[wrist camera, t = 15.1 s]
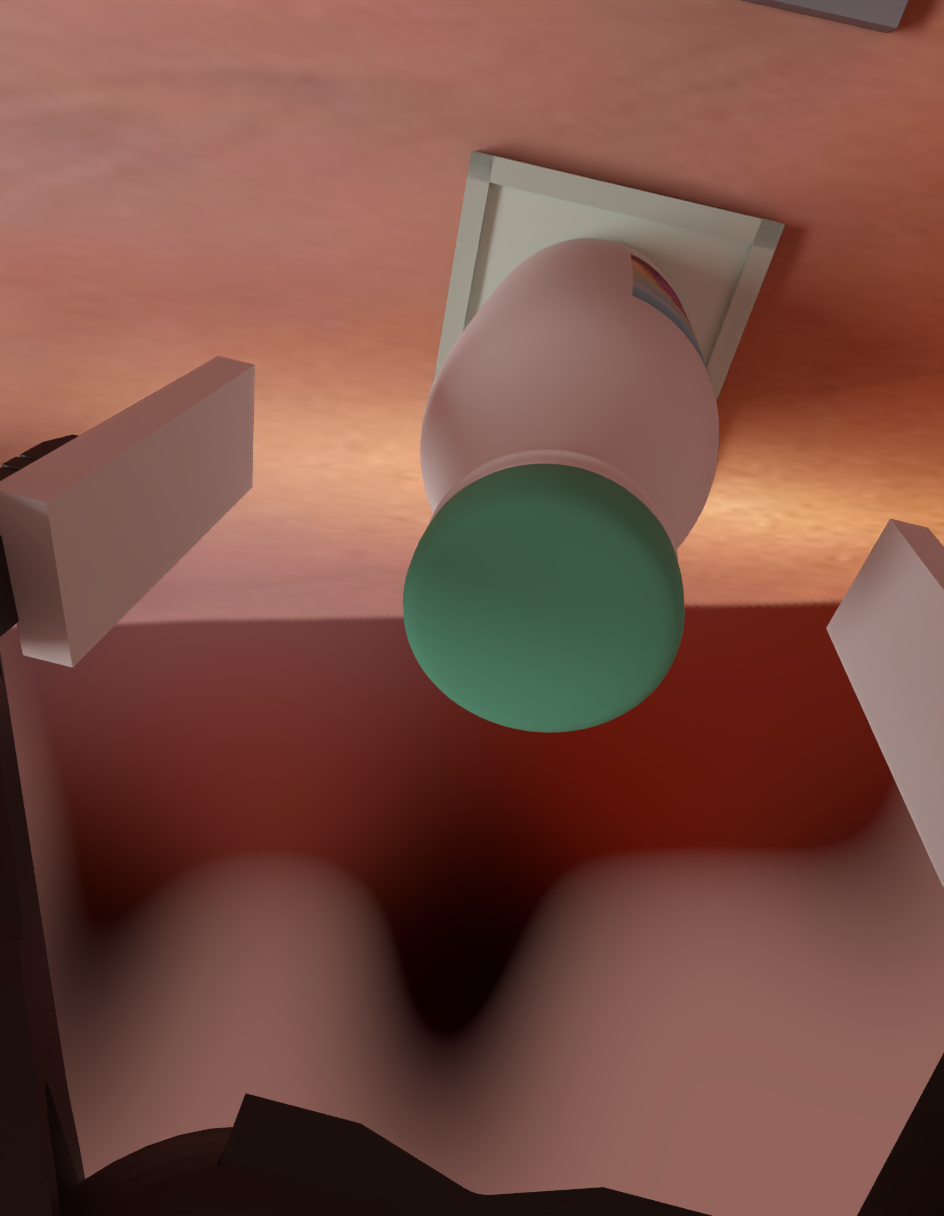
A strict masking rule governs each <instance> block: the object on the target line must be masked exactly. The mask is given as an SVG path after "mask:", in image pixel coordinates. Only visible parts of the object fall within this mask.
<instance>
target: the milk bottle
mask: <svg viewBox="0 0 944 1216" xmlns="http://www.w3.org/2000/svg"><path fill="white" fill-rule="evenodd" d="M718 449H719V417H718V409H717V403H716V399H715V395H714V390H713V386H712V383H711V379H710V375H709V371H708V368H707V365H706V362H705V360H704V357H703V354H702V352H701V349H700V347H699V344H698V341H697V339H696V336H695V334H694V331H693V329H692V327H691V325H690V322H689V320H688V318H687V315H686V313H685V311H684V309H683V306H682V304H681V302H680V300H679V298H678V296H677V294H676V292H675V290H674V289H673V287H672V285H671V284H670V282H669V281H668V279H667V278H666V277H665V276H664V274H663V273H662V272H661V271H660V269H659V268H658V267H657V266H656V265H655V264H654V263H653V262H651V261H650V260H649V259H648V258H646V257H645V256H644V255H642V254H641V253H639V252H638V251H636V250H634V249H632V248H630V247H628V246H626V245H623V244H620V243H618V242H614V241H610V240H605V239H598V238H580V239H572V240H567V241H563V242H559V243H556V244H553V245H551V246H548V247H546V248H544V249H542V250H540V251H538V252H536V253H535V254H533V255H532V256H530V257H529V258H527V259H526V260H525V261H523V262H522V263H521V264H520V265H519V266H517V267H516V268H515V269H514V270H513V271H512V272H511V273H510V274H509V275H508V276H507V277H506V278H505V279H504V280H503V282H502V283H501V284H500V285H499V286H498V288H497V289H496V290H495V291H494V293H493V294H492V295H491V296H490V297H489V299H488V300H487V301H486V302H485V304H484V305H483V306H482V307H481V309H480V310H479V311H478V312H477V314H476V315H475V316H474V318H473V319H472V320H471V321H470V323H469V324H468V325H467V327H466V328H465V329H464V331H463V332H462V333H461V335H460V336H459V338H458V339H457V341H456V342H455V344H454V345H453V347H452V349H451V350H450V352H449V354H448V355H447V357H446V359H445V361H444V362H443V364H442V366H441V368H440V370H439V372H438V374H437V376H436V378H435V380H434V383H433V386H432V388H431V391H430V395H429V398H428V402H427V405H426V409H425V413H424V417H423V423H422V430H421V450H420V451H421V469H422V477H423V481H424V486H425V490H426V494H427V498H428V501H429V504H430V507H431V510H432V512H433V516H432V518H431V521H430V523H429V526H428V527H427V529H426V531H425V533H424V534H423V536H422V538H421V539H420V541H419V543H418V546H417V548H416V550H415V553H414V555H413V558H412V561H411V563H410V566H409V569H408V572H407V576H406V580H405V585H404V594H403V610H404V622H405V629H406V633H407V637H408V640H409V643H410V646H411V648H412V651H413V653H414V655H415V657H416V659H417V661H418V662H419V664H420V666H421V667H422V669H423V670H424V672H425V673H426V674H427V676H428V677H429V678H430V679H431V680H432V682H433V683H434V684H435V685H436V686H437V687H438V688H439V689H440V690H441V691H442V692H443V693H444V694H446V695H447V696H448V697H449V698H451V699H452V700H453V701H454V702H456V703H457V704H459V705H460V706H462V707H463V708H465V709H466V710H468V711H470V712H472V713H474V714H476V715H477V716H480V717H482V718H484V719H486V720H489V721H492V722H494V723H497V724H500V725H503V726H508V727H511V728H515V729H520V730H527V731H535V732H565V731H574V730H579V729H585V728H589V727H592V726H596V725H599V724H602V723H605V722H608V721H610V720H612V719H614V718H616V717H619V716H621V715H623V714H624V713H626V712H628V711H630V710H631V709H633V708H634V707H635V706H637V705H638V704H640V703H641V702H642V701H643V700H644V699H646V698H647V697H648V696H649V695H650V694H651V693H652V692H653V691H654V690H655V689H656V687H657V686H658V685H659V684H660V683H661V681H662V679H664V677H665V675H666V674H667V672H668V670H669V669H670V667H671V665H672V663H673V660H674V658H675V656H676V653H677V650H678V647H679V644H680V641H681V638H682V633H683V628H684V616H685V614H684V594H683V583H682V577H681V573H680V568H679V564H678V557H677V548H678V547H679V546H680V545H681V544H682V542H683V541H684V540H685V538H686V537H687V535H688V534H689V532H690V531H691V529H692V528H693V526H694V524H695V523H696V521H697V519H698V517H699V516H700V514H701V512H702V510H703V508H704V505H705V503H706V500H707V498H708V495H709V492H710V489H711V485H712V482H713V479H714V476H715V471H716V466H717V460H718Z"/></svg>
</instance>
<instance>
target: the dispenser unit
mask: <svg viewBox="0 0 944 1216" xmlns="http://www.w3.org/2000/svg"><path fill="white" fill-rule="evenodd" d="M743 1H748V2H752V3H757V4H761V5H766V6H770V7H774V8H779V9H783V10H788V11H792V12H796V13H801V14H805V15H810V16H814V17H819V18H823V19H827V20H832V21H836V22H841V23H845V24H849V25H854V26H858V27H863V28H867V29H872V30H876V31H880V32H885V33H887V32H890V31H892V30H894V29H897V27H898V25H899V22H900V20H901V17H902V15H903V12H904V10H905V8H906V5H907V3H908V0H743Z"/></svg>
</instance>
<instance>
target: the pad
mask: <svg viewBox="0 0 944 1216" xmlns="http://www.w3.org/2000/svg"><path fill="white" fill-rule="evenodd" d="M784 226H785V224H783V223H780V222H777V221H773V220H768V219H764V218H760V217H756V216H751V215H747V214H743V213H739V212H734V211H730V210H726V209H722V208H717V207H713V206H709V205H705V204H700V203H696V202H692V201H688V200H683V199H679V198H675V197H671V196H666V195H662V194H658V193H654V192H649V191H645V190H641V189H637V188H632V187H628V186H624V185H620V184H615V183H611V182H607V181H603V180H598V179H594V178H590V177H586V176H581V175H577V174H573V173H569V172H564V171H560V170H556V169H552V168H547V167H543V166H539V165H535V164H530V163H526V162H522V161H518V160H513V159H509V158H505V157H501V156H496V155H492V154H488V153H484V152H479V151H471V157H470V163H469V170H468V176H467V182H466V188H465V194H464V200H463V206H462V212H461V218H460V225H459V231H458V237H457V243H456V249H455V255H454V261H453V267H452V273H451V280H450V286H449V292H448V298H447V304H446V310H445V316H444V322H443V328H442V335H441V341H440V347H439V353H438V359H437V365H436V371H435V377H434V380H435V378H436V376H437V374H438V372H439V370H440V368H441V366H442V364H443V362H444V361H445V359H446V357H447V355H448V354H449V352H450V350H451V349H452V347H453V345H454V344H455V342H456V341H457V339H458V338H459V336H460V335H461V333H462V332H463V331H464V329H465V328H466V327H467V325H468V324H469V323H470V321H471V320H472V319H473V318H474V316H475V315H476V314H477V312H478V311H479V310H480V309H481V307H482V306H483V305H484V304H485V302H486V301H487V300H488V299H489V297H490V296H491V295H492V294H493V293H494V291H495V290H496V289H497V288H498V286H499V285H500V284H501V283H502V282H503V280H504V279H505V278H506V277H507V276H508V275H509V274H510V273H511V272H512V271H513V270H514V269H515V268H516V267H517V266H519V265H520V264H521V263H522V262H523V261H525V260H526V259H527V258H529V257H530V256H532V255H533V254H535V253H536V252H538V251H540V250H542V249H544V248H546V247H548V246H551V245H553V244H556V243H559V242H563V241H567V240H572V239H580V238H598V239H605V240H610V241H614V242H618V243H620V244H623V245H626V246H628V247H630V248H632V249H634V250H636V251H638V252H639V253H641V254H642V255H644V256H645V257H646V258H648V259H649V260H650V261H651V262H653V263H654V264H655V265H656V266H657V267H658V268H659V269H660V271H661V272H662V273H663V274H664V276H665V277H666V278H667V279H668V281H669V282H670V284H671V285H672V287H673V289H674V290H675V292H676V294H677V296H678V298H679V300H680V302H681V304H682V306H683V309H684V311H685V313H686V315H687V318H688V320H689V322H690V325H691V327H692V329H693V331H694V334H695V336H696V339H697V341H698V344H699V347H700V349H701V352H702V354H703V357H704V360H705V362H706V365H707V368H708V371H709V375H710V379H711V383H712V386H713V390H714V395H715V399H716V401H717V399H718V396H719V394H720V391H721V389H722V386H723V383H724V381H725V378H726V376H727V373H728V371H729V368H730V365H731V363H732V360H733V358H734V355H735V352H736V350H737V347H738V345H739V342H740V340H741V337H742V334H743V332H744V329H745V327H746V324H747V321H748V319H749V316H750V314H751V311H752V309H753V306H754V303H755V301H756V298H757V296H758V293H759V290H760V288H761V285H762V283H763V280H764V278H765V275H766V272H767V270H768V267H769V265H770V262H771V259H772V257H773V254H774V252H775V249H776V247H777V244H778V241H779V239H780V236H781V234H782V231H783V229H784Z"/></svg>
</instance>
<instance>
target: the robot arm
mask: <svg viewBox="0 0 944 1216" xmlns="http://www.w3.org/2000/svg"><path fill="white" fill-rule="evenodd" d="M254 375H255V365H253V364H249V363H245V362H241V361H237V360H233V359H229V358H224V357H220V356H217V357H216V358H214V359H212V360H210V361H209V362H207V363H205V364H204V365H202V366H200V367H198V368H197V369H195V370H193V371H191V372H190V373H188V374H186V375H184V376H183V377H181V378H179V379H177V380H176V381H174V382H172V383H170V384H169V385H167V386H165V387H163V388H162V389H160V390H158V391H157V392H155V393H153V394H151V395H150V396H148V397H146V398H144V399H143V400H141V401H139V402H137V403H136V404H134V405H132V406H130V407H129V408H127V409H125V410H123V411H122V412H120V413H118V414H117V415H115V416H113V417H111V418H110V419H108V420H106V421H104V422H103V423H101V424H99V425H97V426H96V427H94V428H92V429H90V430H89V431H87V432H85V433H83V434H82V435H80V436H77V435H69V436H65V437H61V438H57V439H53V440H49V441H46V442H42V443H40V444H38V445H37V446H35V447H33V448H31V449H29V450H27V451H26V452H24V453H22V454H20V458H19V457H15V458H13V459H11V460H9V461H7V462H6V463H4V464H2V468H0V636H2V635H3V634H4V633H5V632H6V631H8V630H9V629H10V628H11V627H12V626H14V625H15V624H16V623H17V628H18V633H19V638H20V642H21V647H22V652H23V655H25V656H30V657H33V658H37V659H41V660H45V661H49V662H53V663H57V664H61V665H65V666H69V667H73V666H75V664H76V663H77V662H78V661H79V660H80V659H81V658H82V657H83V656H84V655H85V654H86V653H87V652H88V651H89V650H90V649H91V648H92V647H93V646H94V645H95V644H96V643H97V642H98V641H99V640H100V639H101V638H102V637H103V636H104V635H105V634H106V633H107V632H108V631H109V630H110V629H111V628H112V627H113V626H114V625H115V624H116V623H117V622H118V621H119V620H120V619H121V618H122V617H123V616H124V615H125V614H126V613H127V612H128V611H129V610H130V609H131V608H132V607H133V606H134V605H135V604H136V603H137V602H138V601H139V600H140V599H141V598H142V597H143V596H144V595H145V594H146V593H147V592H148V591H149V590H150V589H151V588H152V587H153V586H154V585H155V584H156V583H157V582H158V581H159V580H160V579H161V578H162V577H163V576H164V575H165V574H166V573H167V572H168V571H169V570H170V569H171V568H172V567H173V566H174V565H175V564H176V563H177V562H178V561H179V560H180V559H181V558H182V557H183V556H184V555H185V554H186V553H187V552H188V551H189V550H190V549H191V548H192V547H193V546H194V545H195V544H196V543H197V542H198V541H199V540H200V539H201V538H202V537H203V536H204V535H205V534H206V533H207V532H208V531H209V530H210V529H211V528H212V527H213V526H214V525H215V524H216V523H217V522H218V521H219V520H220V519H221V518H222V517H223V516H224V515H225V514H226V513H227V512H228V511H229V510H230V509H231V508H232V507H233V506H234V505H235V504H236V503H237V502H238V501H239V500H240V499H241V498H242V497H243V496H244V495H245V494H246V493H247V492H248V491H249V490H250V489H251V488H252V473H253V424H254ZM827 631H828V633H829V635H830V637H831V640H832V642H833V644H834V646H835V649H836V651H837V653H838V655H839V657H840V660H841V662H842V664H843V666H844V668H845V671H846V673H847V675H848V677H849V680H850V682H851V684H852V686H853V688H854V691H855V693H856V695H857V697H858V699H859V701H860V704H861V706H862V708H863V711H864V713H865V715H866V717H867V719H868V722H869V724H870V726H871V728H872V730H873V733H874V735H875V737H876V739H877V742H878V744H879V746H880V748H881V751H882V753H883V755H884V757H885V759H886V762H887V764H888V766H889V768H890V770H891V773H892V775H893V777H894V779H895V781H896V783H897V786H898V788H899V790H900V793H901V795H902V797H903V799H904V801H905V804H906V806H907V808H908V810H909V812H910V815H911V817H912V819H913V821H914V823H915V826H916V828H917V830H918V833H919V835H920V837H921V839H922V841H923V844H924V846H925V848H926V850H927V852H928V855H929V857H930V859H931V861H932V864H933V866H934V868H935V870H936V872H937V875H938V877H939V879H940V881H941V883H942V886H943V887H944V547H943V545H942V544H941V543H940V542H939V541H938V539H937V538H936V537H935V536H934V534H933V533H932V532H931V531H930V530H929V528H927V527H922V526H918V525H914V524H910V523H906V522H902V521H898V520H894V519H890V520H889V522H888V523H887V525H886V527H885V529H884V530H883V532H882V534H881V535H880V537H879V539H878V541H877V542H876V544H875V546H874V547H873V549H872V551H871V553H870V554H869V556H868V558H867V559H866V561H865V563H864V565H863V566H862V568H861V570H860V571H859V573H858V575H857V576H856V578H855V580H854V582H853V583H852V585H851V587H850V588H849V590H848V592H847V594H846V595H845V597H844V599H843V600H842V602H841V604H840V606H839V607H838V609H837V611H836V612H835V614H834V616H833V618H832V619H831V621H830V623H829V624H828V626H827ZM0 1216H711V1215H707V1214H703V1213H700V1212H695V1211H692V1210H687V1209H684V1208H681V1207H677V1206H673V1205H669V1204H665V1203H661V1202H658V1201H654V1200H650V1199H646V1198H642V1197H639V1196H635V1195H631V1194H627V1193H623V1192H619V1191H615V1190H612V1189H608V1188H604V1187H601V1188H586V1189H572V1190H556V1191H541V1192H528V1193H513V1194H497V1195H482V1194H477V1193H474V1192H471V1191H469V1190H467V1189H465V1188H463V1187H462V1186H460V1185H459V1184H457V1183H455V1182H454V1181H452V1180H451V1179H449V1178H447V1177H446V1176H444V1175H442V1174H441V1173H439V1172H438V1171H436V1170H435V1169H433V1168H431V1167H430V1166H428V1165H426V1164H425V1163H423V1162H422V1161H420V1160H418V1159H417V1158H415V1157H413V1156H412V1155H410V1154H409V1153H407V1152H406V1151H404V1150H402V1149H401V1148H399V1147H398V1146H396V1145H394V1144H393V1143H391V1142H389V1141H388V1140H386V1139H385V1138H383V1137H381V1136H380V1135H378V1134H377V1133H375V1132H373V1131H372V1130H370V1129H369V1128H367V1127H365V1126H364V1125H362V1124H360V1123H356V1122H353V1121H349V1120H345V1119H341V1118H337V1117H334V1116H330V1115H326V1114H322V1113H318V1112H315V1111H311V1110H307V1109H303V1108H299V1107H296V1106H292V1105H288V1104H284V1103H280V1102H276V1101H273V1100H269V1099H265V1098H261V1097H258V1096H254V1095H250V1094H245V1096H244V1099H243V1102H242V1105H241V1107H240V1110H239V1113H238V1115H237V1118H236V1121H235V1123H234V1126H233V1127H226V1128H214V1129H207V1130H202V1131H197V1132H192V1133H187V1134H182V1135H178V1136H175V1137H172V1138H169V1139H166V1140H163V1141H160V1142H157V1143H155V1144H152V1145H148V1146H146V1147H144V1148H142V1149H140V1150H138V1151H135V1152H133V1153H131V1154H129V1155H127V1156H125V1157H123V1158H121V1159H119V1160H116V1161H114V1162H112V1163H111V1164H109V1165H108V1166H106V1167H104V1168H103V1169H101V1170H99V1171H98V1172H96V1173H95V1174H93V1175H91V1176H90V1177H88V1178H87V1179H85V1176H84V1170H83V1164H82V1158H81V1153H80V1147H79V1142H78V1137H77V1132H76V1127H75V1122H74V1117H73V1112H72V1107H71V1103H70V1097H69V1092H68V1086H67V1080H66V1075H65V1067H64V1061H63V1054H62V1048H61V1041H60V1035H59V1028H58V1022H57V1015H56V1009H55V1002H54V996H53V989H52V983H51V977H50V971H49V964H48V957H47V951H46V944H45V938H44V931H43V925H42V918H41V912H40V905H39V899H38V892H37V886H36V879H35V873H34V866H33V861H32V853H31V847H30V840H29V834H28V827H27V821H26V815H25V808H24V803H23V795H22V789H21V782H20V776H19V770H18V763H17V756H16V750H15V743H14V737H13V731H12V724H11V717H10V711H9V705H8V698H7V692H6V685H5V679H4V672H3V665H2V659H1V655H0ZM857 1216H944V1053H943V1055H942V1057H941V1059H940V1061H939V1063H938V1065H937V1066H936V1069H935V1070H934V1072H933V1074H932V1076H931V1078H930V1080H929V1082H928V1083H927V1085H926V1087H925V1089H924V1091H923V1093H922V1095H921V1096H920V1098H919V1100H918V1102H917V1104H916V1106H915V1108H914V1110H913V1112H912V1113H911V1115H910V1117H909V1119H908V1121H907V1123H906V1125H905V1127H904V1129H903V1130H902V1132H901V1134H900V1136H899V1138H898V1140H897V1142H896V1143H895V1145H894V1147H893V1149H892V1151H891V1153H890V1155H889V1157H888V1158H887V1160H886V1162H885V1164H884V1166H883V1168H882V1170H881V1172H880V1174H879V1175H878V1177H877V1179H876V1181H875V1183H874V1185H873V1187H872V1189H871V1191H870V1193H869V1195H868V1196H867V1198H866V1200H865V1202H864V1204H863V1206H862V1207H861V1209H860V1211H859V1213H858V1215H857Z"/></svg>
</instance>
